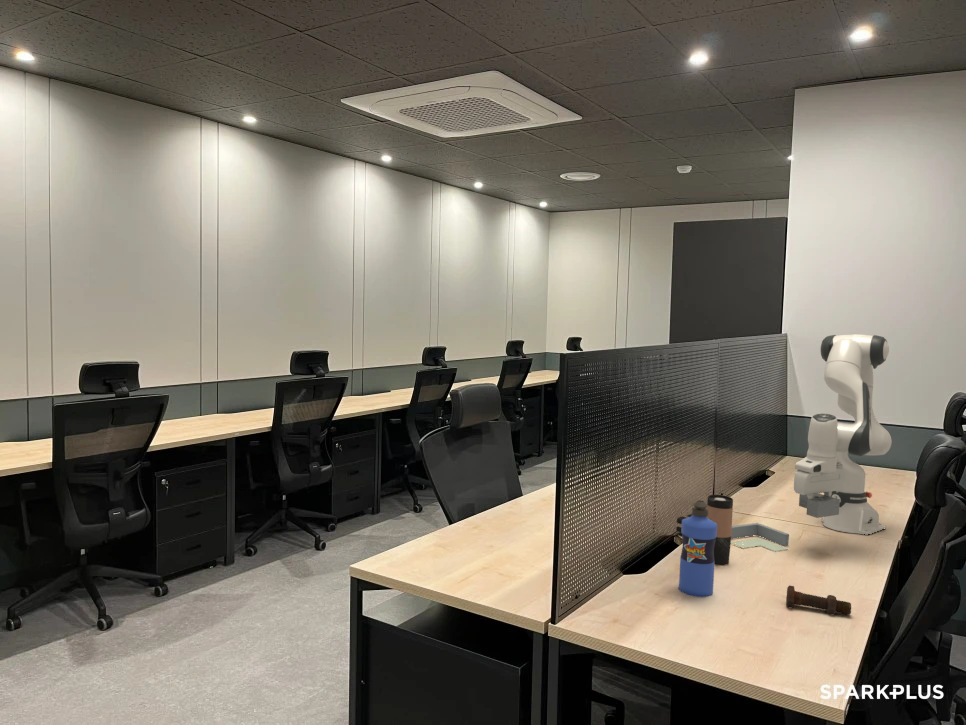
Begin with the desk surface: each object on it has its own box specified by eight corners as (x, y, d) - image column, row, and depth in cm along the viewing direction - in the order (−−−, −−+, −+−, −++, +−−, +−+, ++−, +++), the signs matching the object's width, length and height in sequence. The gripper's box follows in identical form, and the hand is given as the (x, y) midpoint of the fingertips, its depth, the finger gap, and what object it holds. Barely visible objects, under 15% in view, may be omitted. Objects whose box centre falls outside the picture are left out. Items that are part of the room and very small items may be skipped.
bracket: (807, 504, 233) (808, 490, 233) (838, 514, 222) (839, 499, 222) (786, 507, 229) (786, 492, 228) (817, 517, 218) (818, 502, 217)
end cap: (692, 540, 234) (693, 521, 233) (675, 535, 239) (676, 516, 239) (709, 535, 240) (710, 516, 240) (692, 530, 246) (693, 511, 245)
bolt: (849, 624, 176) (785, 611, 182) (848, 608, 180) (786, 595, 186) (853, 609, 173) (788, 596, 179) (851, 593, 177) (788, 581, 182)
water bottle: (683, 581, 196) (687, 495, 195) (716, 588, 192) (721, 500, 190) (674, 591, 188) (679, 502, 187) (709, 599, 184) (714, 507, 182)
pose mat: (759, 538, 238) (759, 537, 238) (788, 549, 227) (788, 548, 227) (729, 543, 232) (729, 542, 232) (756, 554, 222) (756, 553, 221)
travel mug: (729, 558, 217) (733, 496, 215) (729, 566, 209) (733, 502, 208) (704, 555, 219) (707, 493, 218) (703, 563, 212) (707, 499, 211)
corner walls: (756, 533, 244) (757, 522, 244) (788, 545, 232) (789, 534, 231) (719, 539, 237) (719, 527, 236) (749, 551, 224) (750, 539, 224)
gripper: (834, 459, 233) (831, 499, 234) (791, 464, 224) (788, 505, 225) (851, 463, 227) (848, 504, 228) (807, 468, 218) (805, 511, 219)
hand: (818, 505), depth 227 cm, fingers closed on bracket, 4 cm apart
